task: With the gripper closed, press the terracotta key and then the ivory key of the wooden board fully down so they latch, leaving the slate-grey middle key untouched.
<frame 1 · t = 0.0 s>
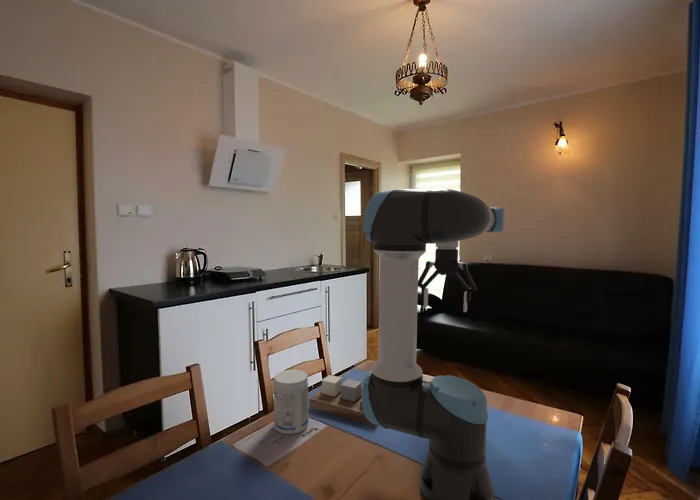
hand: (445, 309, 126), 28 cm above the table, fingers open, 13 cm apart
ivory key: (331, 385, 117), point 5 cm above the table, slide at 0.0 cm
wooden board: (351, 406, 114), on the table
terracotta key: (372, 395, 111), point 5 cm above the table, slide at 0.0 cm
supplement tub: (291, 427, 102), on the table
slate key: (351, 390, 114), point 5 cm above the table, slide at 0.0 cm
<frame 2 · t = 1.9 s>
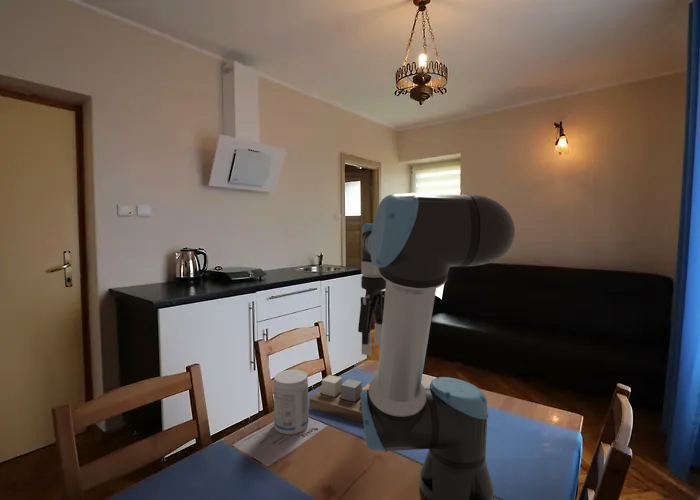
hand: (372, 349, 110), 19 cm above the table, fingers open, 9 cm apart
nothing on the table moved.
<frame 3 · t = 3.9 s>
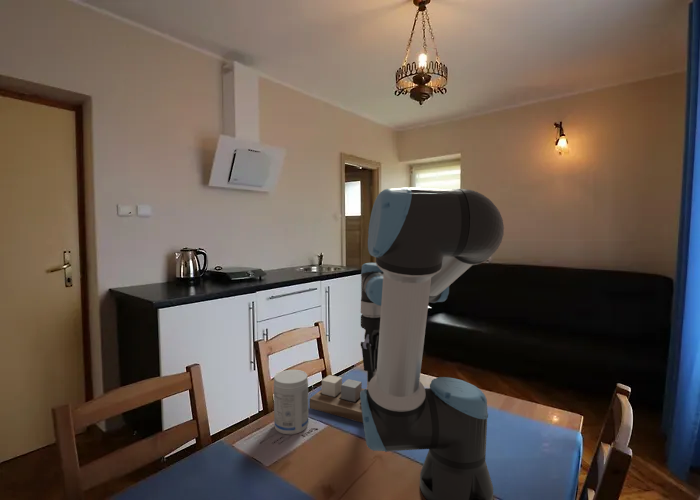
hand: (372, 390, 111), 7 cm above the table, fingers closed
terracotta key: (371, 398, 111), point 4 cm above the table, slide at 1.1 cm, touching gripper
everything else where it was.
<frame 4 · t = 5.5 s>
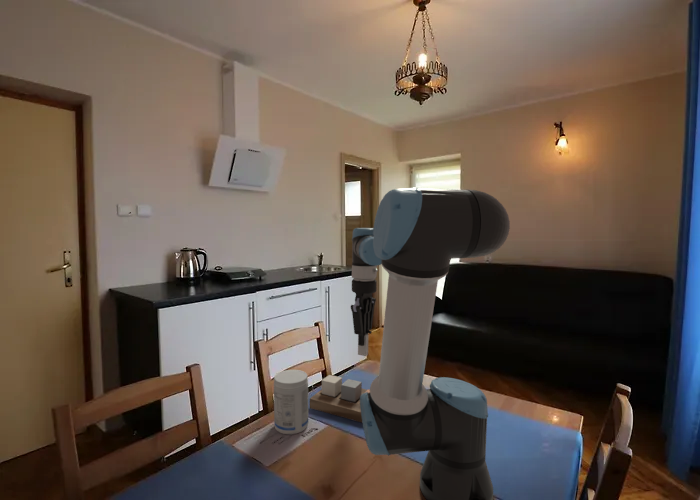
hand: (362, 354, 112), 17 cm above the table, fingers closed
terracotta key: (371, 401, 111), point 3 cm above the table, slide at 1.9 cm
everything else where it was.
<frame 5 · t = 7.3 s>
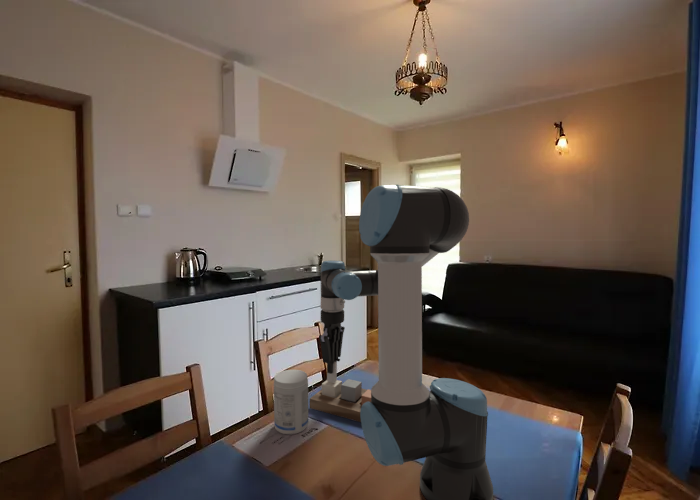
hand: (331, 381, 117), 7 cm above the table, fingers closed
ivory key: (331, 389, 117), point 4 cm above the table, slide at 1.2 cm, touching gripper
everything else where it was.
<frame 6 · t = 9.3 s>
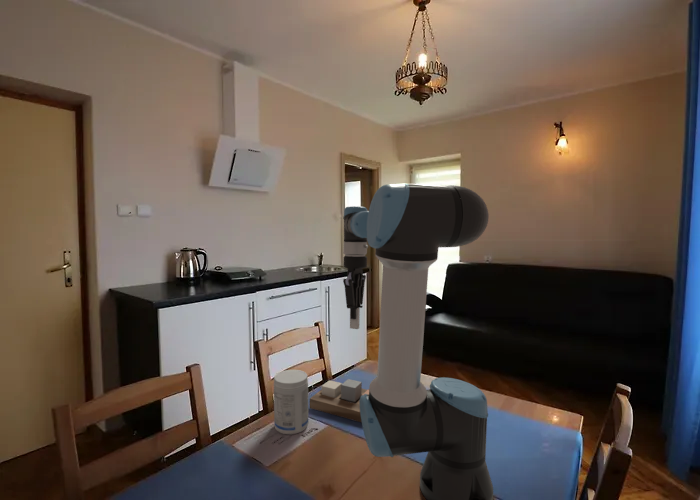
hand: (354, 328, 117), 24 cm above the table, fingers closed
ivory key: (331, 391, 117), point 3 cm above the table, slide at 1.9 cm
everything else where it was.
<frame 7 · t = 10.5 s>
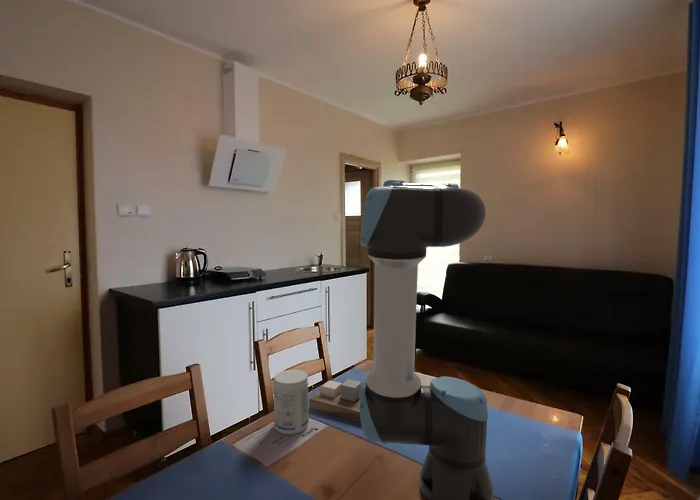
hand: (392, 299, 121), 32 cm above the table, fingers closed
nothing on the table moved.
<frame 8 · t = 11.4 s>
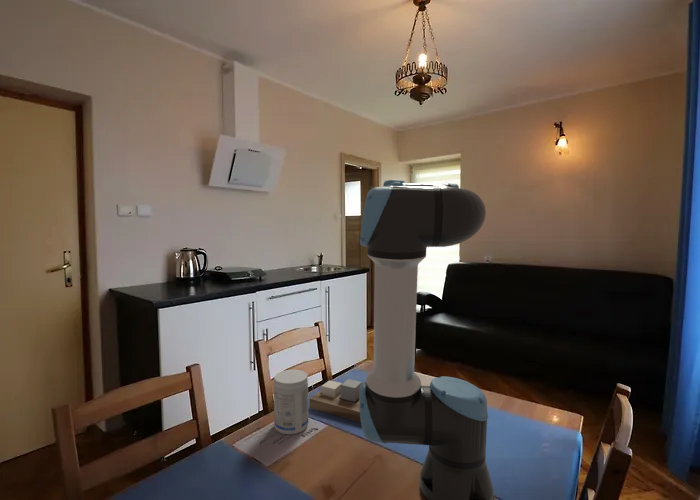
hand: (392, 299, 121), 32 cm above the table, fingers closed
nothing on the table moved.
at the end: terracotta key slide at 1.9 cm; ivory key slide at 1.9 cm; slate key slide at 0.0 cm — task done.
